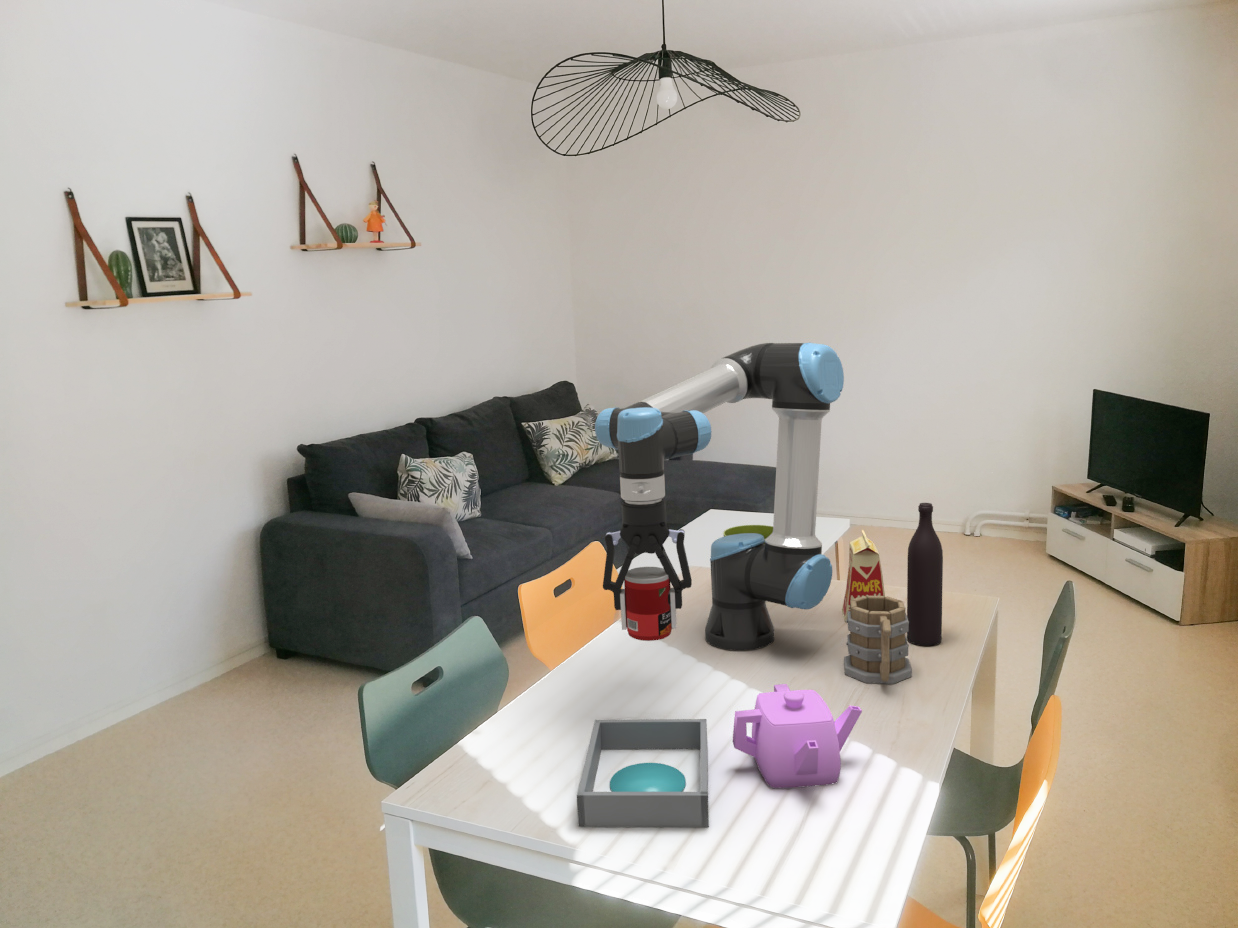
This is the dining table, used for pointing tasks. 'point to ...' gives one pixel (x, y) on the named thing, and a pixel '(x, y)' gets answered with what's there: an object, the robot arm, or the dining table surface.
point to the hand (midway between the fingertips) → (649, 626)
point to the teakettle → (794, 737)
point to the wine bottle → (925, 582)
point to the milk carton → (863, 572)
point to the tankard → (877, 640)
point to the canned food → (648, 603)
